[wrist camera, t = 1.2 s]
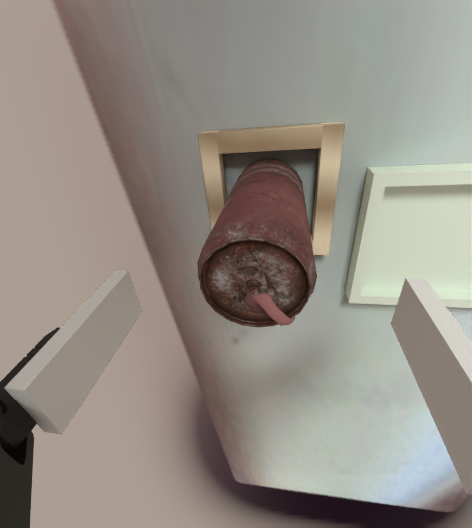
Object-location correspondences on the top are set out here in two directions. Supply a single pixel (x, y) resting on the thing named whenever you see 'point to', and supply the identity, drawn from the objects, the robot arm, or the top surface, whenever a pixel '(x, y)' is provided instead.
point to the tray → (414, 234)
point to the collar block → (275, 139)
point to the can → (260, 249)
